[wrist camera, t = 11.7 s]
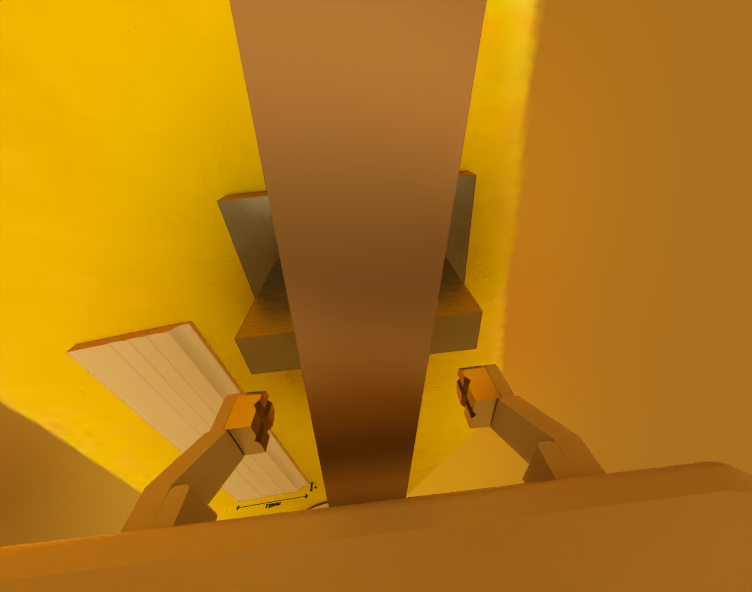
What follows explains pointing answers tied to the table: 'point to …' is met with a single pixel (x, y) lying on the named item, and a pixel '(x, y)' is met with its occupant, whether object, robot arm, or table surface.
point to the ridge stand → (271, 307)
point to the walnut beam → (361, 206)
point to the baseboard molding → (184, 399)
